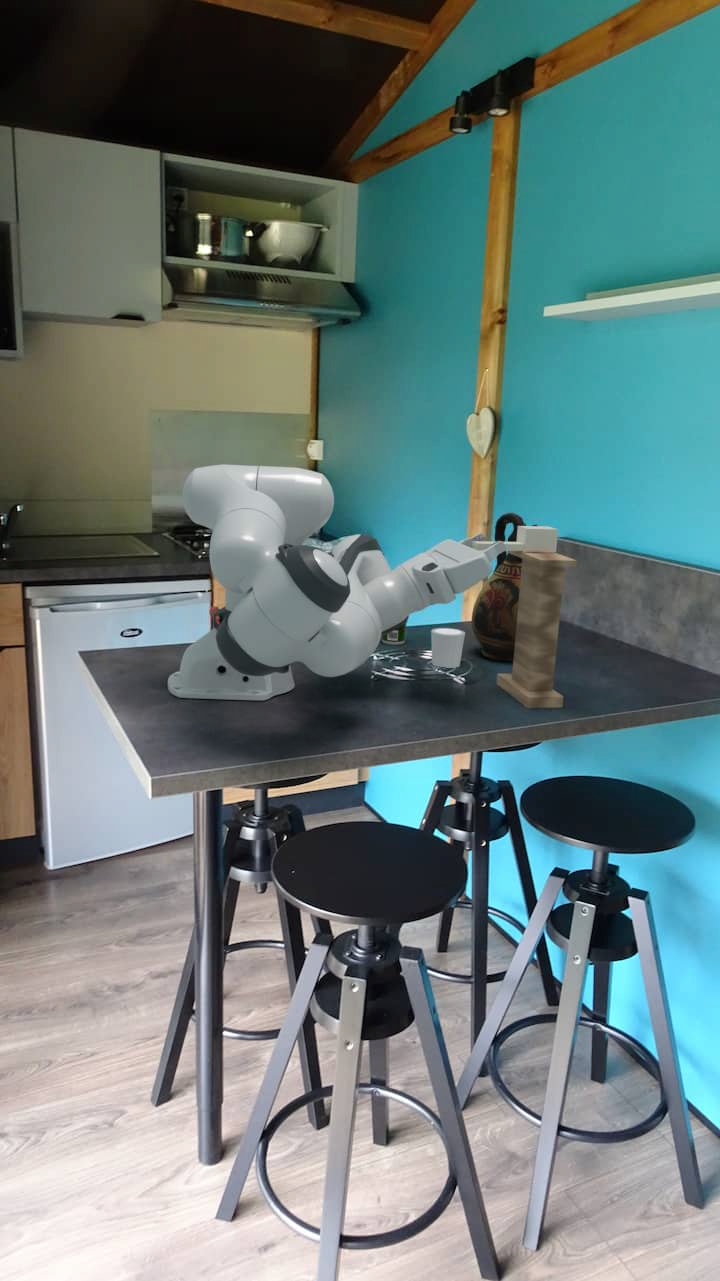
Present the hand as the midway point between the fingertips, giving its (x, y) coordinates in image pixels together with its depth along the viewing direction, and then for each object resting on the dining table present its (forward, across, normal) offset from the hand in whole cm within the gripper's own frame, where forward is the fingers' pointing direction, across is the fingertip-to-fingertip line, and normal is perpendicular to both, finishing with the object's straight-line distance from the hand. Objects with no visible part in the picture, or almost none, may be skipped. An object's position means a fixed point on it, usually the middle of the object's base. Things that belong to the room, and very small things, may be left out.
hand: (493, 540), depth 163 cm
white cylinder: (-15, -19, -24) cm, 34 cm away
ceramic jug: (-2, -26, -31) cm, 40 cm away
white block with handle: (+3, 0, -3) cm, 4 cm away
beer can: (-20, -38, -21) cm, 47 cm away
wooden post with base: (-7, +3, -28) cm, 29 cm away
